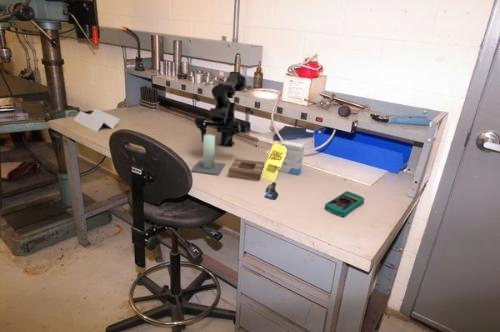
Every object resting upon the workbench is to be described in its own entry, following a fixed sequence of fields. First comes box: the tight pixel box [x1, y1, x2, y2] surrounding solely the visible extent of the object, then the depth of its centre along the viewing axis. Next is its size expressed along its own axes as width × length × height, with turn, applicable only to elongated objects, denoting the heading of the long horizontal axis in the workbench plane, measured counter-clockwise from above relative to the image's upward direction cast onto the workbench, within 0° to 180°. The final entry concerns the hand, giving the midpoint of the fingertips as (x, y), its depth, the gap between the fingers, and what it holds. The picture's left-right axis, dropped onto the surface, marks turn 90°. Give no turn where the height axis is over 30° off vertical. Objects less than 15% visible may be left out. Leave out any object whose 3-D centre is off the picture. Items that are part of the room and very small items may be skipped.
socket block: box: [228, 158, 265, 182], centre depth 135 cm, size 12×12×3 cm
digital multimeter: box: [324, 190, 365, 217], centre depth 116 cm, size 7×15×3 cm, turn 137°
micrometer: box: [264, 181, 279, 200], centre depth 122 cm, size 12×2×5 cm
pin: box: [202, 133, 216, 169], centre depth 135 cm, size 4×4×13 cm
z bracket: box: [73, 108, 121, 132], centre depth 180 cm, size 12×25×6 cm
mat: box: [190, 160, 226, 176], centre depth 138 cm, size 11×11×1 cm
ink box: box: [279, 140, 305, 176], centre depth 138 cm, size 9×5×12 cm, turn 65°
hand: (213, 143), depth 140 cm, fingers open, 9 cm apart
